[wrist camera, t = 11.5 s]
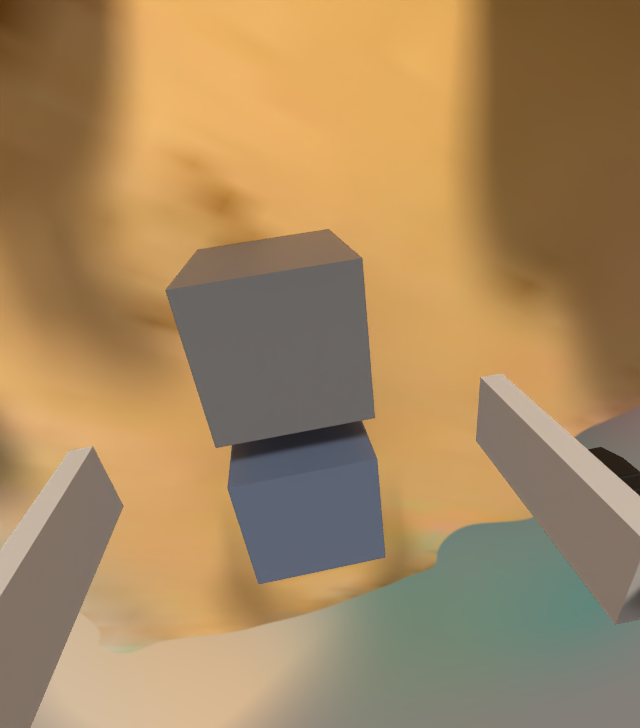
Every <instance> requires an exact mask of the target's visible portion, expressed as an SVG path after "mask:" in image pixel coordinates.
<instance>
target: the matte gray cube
mask: <svg viewBox="0 0 640 728" xmlns="http://www.w3.org/2000/svg"><path fill="white" fill-rule="evenodd" d="M166 293H167V297H168V300H169V303H170V306H171V309H172V312H173V315H174V319H175V322H176V325H177V328H178V331H179V334H180V337H181V340H182V344H183V347H184V350H185V353H186V356H187V359H188V362H189V366H190V369H191V372H192V375H193V378H194V381H195V384H196V388H197V391H198V394H199V397H200V400H201V403H202V406H203V410H204V413H205V416H206V419H207V422H208V425H209V428H210V431H211V435H212V438H213V441H214V444H215V447H216V448H218V447H224V446H229V445H234V444H240V443H245V442H250V441H256V440H261V439H266V438H272V437H277V436H282V435H287V434H293V433H298V432H303V431H309V430H314V429H319V428H325V427H330V426H335V425H341V424H346V423H351V422H356V421H362V420H367V419H372V418H375V413H374V400H373V388H372V375H371V362H370V350H369V337H368V325H367V312H366V299H365V287H364V274H363V261H362V257H360V256H359V255H358V254H357V253H356V252H355V251H354V250H352V249H351V248H350V247H349V246H348V245H347V244H345V243H344V242H343V241H342V240H341V239H340V238H338V237H337V236H336V235H335V234H334V233H333V232H332V231H330V230H329V229H327V230H321V231H314V232H308V233H301V234H295V235H289V236H282V237H276V238H270V239H263V240H257V241H250V242H244V243H238V244H231V245H225V246H219V247H212V248H206V249H199V250H197V251H196V253H195V254H194V255H193V256H192V257H191V259H190V260H189V261H188V262H187V264H186V265H185V266H184V267H183V269H182V270H181V271H180V272H179V274H178V275H177V276H176V277H175V279H174V280H173V281H172V282H171V284H170V285H169V286H168V287H167V289H166Z"/></svg>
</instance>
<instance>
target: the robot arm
mask: <svg viewBox="0 0 640 728" xmlns="http://www.w3.org/2000/svg"><path fill="white" fill-rule="evenodd" d="M476 441H477V443H478V444H479V445H480V446H481V448H482V449H483V450H484V452H485V453H486V454H487V456H488V457H489V458H490V460H491V461H492V462H493V464H494V465H495V466H496V468H497V469H498V470H499V472H500V473H501V474H502V476H503V477H504V478H505V480H506V481H507V482H508V483H509V485H510V486H511V487H512V489H513V490H514V491H515V493H516V494H517V495H518V497H519V498H520V499H521V501H522V502H523V503H524V505H525V506H526V507H527V509H528V510H529V511H530V513H531V514H532V515H533V517H534V518H535V519H536V520H537V522H538V523H539V524H540V526H541V527H542V528H543V530H544V531H545V532H546V534H547V535H548V536H549V538H550V539H551V540H552V542H553V543H554V544H555V546H556V547H557V548H558V549H559V551H560V552H561V553H562V555H563V556H564V557H565V559H566V560H567V561H568V563H569V564H570V565H571V567H572V568H573V569H574V571H575V572H576V573H577V575H578V576H579V577H580V579H581V580H582V581H583V583H584V584H585V585H586V587H587V588H588V589H589V590H590V592H591V593H592V594H593V596H594V597H595V598H596V600H597V601H598V602H599V604H600V605H601V606H602V608H603V609H604V610H605V612H606V613H607V614H608V616H609V617H610V618H611V619H612V621H613V622H614V624H615V625H616V624H621V623H625V622H630V621H634V620H639V619H640V472H639V471H638V470H637V469H636V468H634V467H633V466H632V465H631V464H630V463H628V462H627V461H626V460H625V459H624V458H622V457H620V456H618V455H616V454H614V453H612V452H610V451H608V450H606V449H604V448H602V447H599V448H594V449H588V450H587V449H586V448H585V447H584V446H583V445H582V444H581V443H580V442H578V441H577V440H576V439H575V438H574V437H573V436H572V435H571V434H569V433H568V432H567V431H566V430H565V429H564V428H563V427H562V426H560V425H559V424H558V423H557V422H556V421H555V420H554V419H553V418H551V417H550V416H549V415H548V414H547V413H546V412H545V411H544V410H542V409H541V408H540V407H539V406H538V405H537V404H536V403H535V402H533V401H532V400H531V399H530V398H529V397H528V396H527V395H526V394H524V393H523V392H522V391H521V390H520V389H519V388H518V387H517V386H516V385H514V384H513V383H512V382H511V381H510V380H509V379H508V378H507V377H505V376H504V375H503V374H496V375H491V376H485V377H480V391H479V405H478V419H477V434H476ZM122 508H123V504H122V502H121V500H120V498H119V496H118V494H117V492H116V490H115V489H114V487H113V485H112V483H111V481H110V479H109V477H108V475H107V473H106V471H105V469H104V467H103V465H102V463H101V461H100V459H99V457H98V455H97V453H96V452H95V450H94V448H93V446H92V447H87V448H81V449H75V450H70V451H68V453H67V454H66V456H65V457H64V459H63V460H62V462H61V463H60V464H59V466H58V467H57V469H56V470H55V472H54V473H53V475H52V476H51V477H50V479H49V480H48V482H47V483H46V485H45V486H44V488H43V489H42V490H41V492H40V493H39V495H38V496H37V498H36V499H35V501H34V502H33V504H32V505H31V506H30V508H29V509H28V511H27V512H26V514H25V515H24V517H23V518H22V519H21V521H20V522H19V524H18V525H17V527H16V528H15V530H14V531H13V532H12V534H11V535H10V537H9V538H8V540H7V541H6V543H5V544H4V545H3V547H2V548H1V550H0V728H30V727H31V725H32V722H33V720H34V718H35V715H36V713H37V711H38V708H39V706H40V703H41V701H42V699H43V696H44V694H45V692H46V689H47V687H48V684H49V682H50V679H51V677H52V675H53V672H54V670H55V668H56V665H57V663H58V661H59V658H60V655H61V653H62V651H63V649H64V646H65V644H66V642H67V639H68V637H69V634H70V632H71V630H72V627H73V625H74V623H75V620H76V618H77V615H78V613H79V611H80V608H81V606H82V604H83V601H84V599H85V596H86V594H87V592H88V589H89V587H90V584H91V582H92V580H93V577H94V575H95V573H96V570H97V568H98V565H99V563H100V561H101V558H102V556H103V554H104V551H105V549H106V546H107V544H108V542H109V539H110V537H111V535H112V532H113V530H114V527H115V525H116V523H117V520H118V518H119V516H120V513H121V511H122Z"/></svg>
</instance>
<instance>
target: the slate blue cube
mask: <svg viewBox="0 0 640 728" xmlns="http://www.w3.org/2000/svg"><path fill="white" fill-rule="evenodd" d="M228 491H229V494H230V498H231V501H232V504H233V507H234V510H235V513H236V516H237V519H238V522H239V525H240V528H241V531H242V535H243V538H244V541H245V544H246V547H247V550H248V553H249V556H250V559H251V562H252V565H253V569H254V572H255V575H256V578H257V581H258V584H263V583H267V582H272V581H277V580H281V579H286V578H291V577H295V576H300V575H305V574H310V573H314V572H319V571H324V570H328V569H333V568H338V567H342V566H347V565H352V564H357V563H361V562H366V561H371V560H375V559H380V558H385V547H384V535H383V523H382V511H381V499H380V487H379V475H378V463H377V457H376V455H375V452H374V450H373V447H372V445H371V442H370V440H369V437H368V435H367V432H366V430H365V427H364V425H363V423H362V421H356V422H351V423H346V424H341V425H335V426H330V427H325V428H319V429H314V430H309V431H303V432H298V433H293V434H287V435H282V436H277V437H272V438H266V439H261V440H256V441H250V442H245V443H240V444H234V445H232V451H231V460H230V470H229V479H228Z"/></svg>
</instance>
